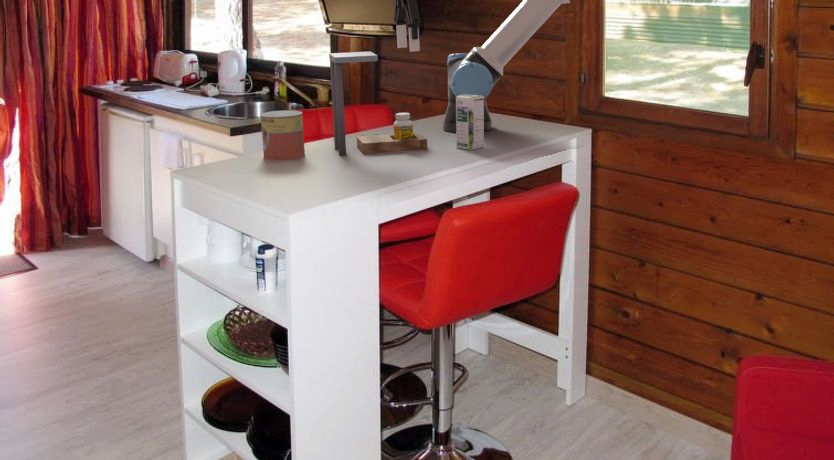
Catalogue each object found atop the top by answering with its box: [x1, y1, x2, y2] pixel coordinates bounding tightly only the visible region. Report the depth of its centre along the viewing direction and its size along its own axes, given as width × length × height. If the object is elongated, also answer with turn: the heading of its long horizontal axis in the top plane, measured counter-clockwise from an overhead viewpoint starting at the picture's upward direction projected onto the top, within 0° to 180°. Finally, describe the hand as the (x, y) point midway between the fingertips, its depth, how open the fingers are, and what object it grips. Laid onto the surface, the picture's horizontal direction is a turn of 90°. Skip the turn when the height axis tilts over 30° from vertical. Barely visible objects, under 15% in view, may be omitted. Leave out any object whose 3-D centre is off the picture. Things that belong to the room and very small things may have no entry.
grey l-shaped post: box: [328, 51, 379, 157], centre depth 255 cm, size 12×12×26 cm
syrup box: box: [455, 95, 485, 151], centre depth 256 cm, size 6×6×14 cm
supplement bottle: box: [393, 112, 414, 140], centre depth 260 cm, size 5×5×10 cm
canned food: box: [260, 109, 306, 163], centre depth 251 cm, size 11×11×12 cm
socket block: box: [356, 132, 428, 155], centre depth 260 cm, size 18×11×3 cm, turn 102°
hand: (408, 49), depth 266 cm, fingers open, 13 cm apart
